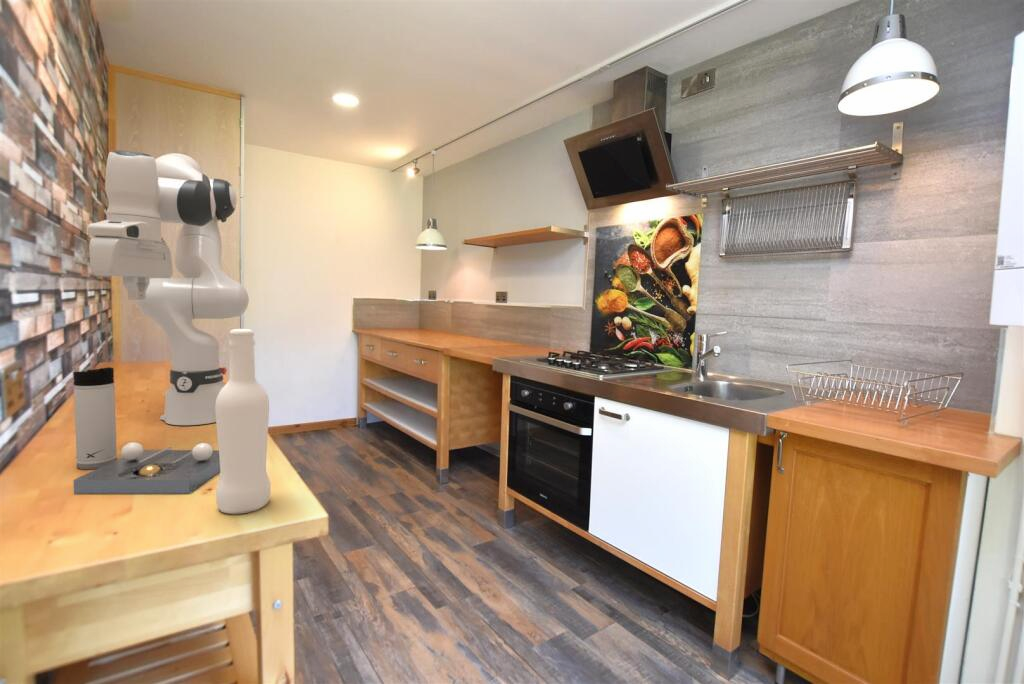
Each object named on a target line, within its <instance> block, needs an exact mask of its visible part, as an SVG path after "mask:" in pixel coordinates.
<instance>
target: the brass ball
mask: <svg viewBox="0 0 1024 684" xmlns="http://www.w3.org/2000/svg"><path fill="white" fill-rule="evenodd" d="M160 471H161V469H160V467H159V466H157V465H153V464H151V465H146V466H144V467H143V468H142V469H141V470H140V471H139V474H138V475H150V474H155V473H158V472H160Z"/></svg>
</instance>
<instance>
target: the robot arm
mask: <svg viewBox="0 0 1024 684" xmlns="http://www.w3.org/2000/svg"><path fill="white" fill-rule="evenodd" d="M105 167H106V168H105V178H104V179H105V181H104V183H105V184H104V185H105V194H106V197H107V201H108V206H107V210H106V219H104V220H101V221H97V222H93V223H90V224H88V226H87V233H88V235H89V236H91V239H90V241H89V246H88V247H89V248H88V249H89V265H90V269H91V271H92V273H93V274H94V275H95V276H101V277H102V276H103V277H122V284H123V286H124V287H125V289H126V291H127V299H128V300H134V301H135V302H136V306H137V307H138V309H139V310H140V311H141V312H142V313H143V314H144V315H146V316H147V317H149V318H151V319H152V320H154V321H155V322H156V323H157V325H159V327H161V328H162V330H163V332H164V333H165V335H166V337H167V339H168V343H169V349H170V356H171V370H169V384H170V386H169V387H168V388H167V390H166V392H165V402H164V414H161V415H160V417H159V418H160V420H161V421H165V423H166V424H169V425H171V426H173V425H174V426H197V425H207V424H212V423H214V424H215V423H216V412H215V404H216V399H217V396H218V394H219V392H220V391H221V389H222V388H223V387H224V386H225V385H226V384H227V382H225V381H224V376H223V375H226V374H227V367H224V366H223V367H220V343H219V341H218V339H217V338H216V337H215V336H213V335H212V334H210V333H208V332H206V331H204V330H201V329H199V328H197V327H196V326H195V325H194V323H193V320H197V319H198V320H199V319H200V320H201V319H207V320H209V319H210V320H214V319H215V320H223V319H230V318H236V317H237V318H238V317H241V316H242V315H243V314H244V313H245V312H246V311H247V308H248V306H249V301H250V299H249V294H248V291H247V290H246V289H247V288H245V286H244V285H242V283H241V282H238V281H236V280H235V279H233V278H231V277H230V276H229V275H228V274H227V273H226V272H225V271H224V270H223V266H222V237H221V231H220V229H219V221H220V222H221V223H225V222H227V219H228V218H229V217H231V216H232V215H233V214H234V212H235V210H236V208H237V207H236V206H237V201H238V200H237V199H238V198H237V195H236V191H235V190H234V188H233V186H232V184H231V183H230V182H229V181H228V180H225V179H221V178H213V179H211V178H209V177H208V176H207V175H206V174H204V173H203V171H202V168H201V166H200V164H199V163H198V162H197V161H196V159H194V158H193V157H191V156H189V155H186V154H183V153H176V152H175V153H174V152H173V153H172V152H171V153H167V154H163V155H161V156H159V157H157V158H155V157H154V156H152V155H151V154H148V153H145V152H136V151H130V150H129V151H128V150H127V151H126V150H120V149H118V150H117V149H116V150H112V151H110V152H109V153H108V156H107V160H106V166H105ZM161 223H169V224H170V223H172V224H173V223H174V224H181V225H182V226H181V228H180V231H179V233H178V238H177V243H176V249H175V256H174V265H175V268H176V270H177V271H178V272H179V273H180V274H181V275H182V276H183V277H179V276H178V277H176V276H173V273H174V269H173V261H172V254H171V253H172V251H171V250H170V247H169V246H168V245H167V242H166V241H165V240H164V238H163V237H162V224H161Z"/></svg>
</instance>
